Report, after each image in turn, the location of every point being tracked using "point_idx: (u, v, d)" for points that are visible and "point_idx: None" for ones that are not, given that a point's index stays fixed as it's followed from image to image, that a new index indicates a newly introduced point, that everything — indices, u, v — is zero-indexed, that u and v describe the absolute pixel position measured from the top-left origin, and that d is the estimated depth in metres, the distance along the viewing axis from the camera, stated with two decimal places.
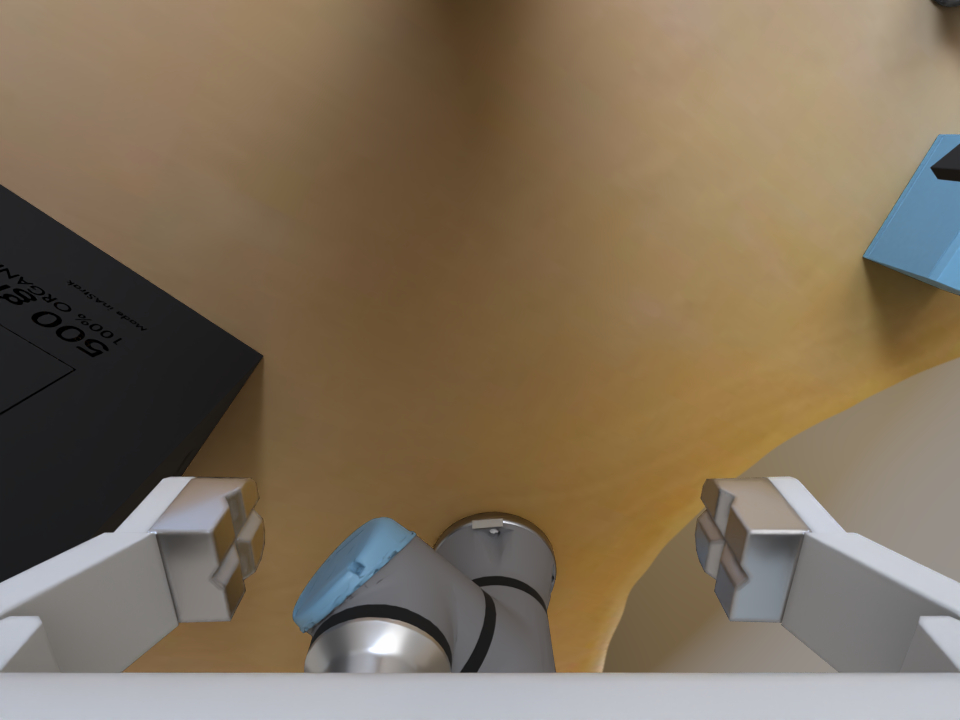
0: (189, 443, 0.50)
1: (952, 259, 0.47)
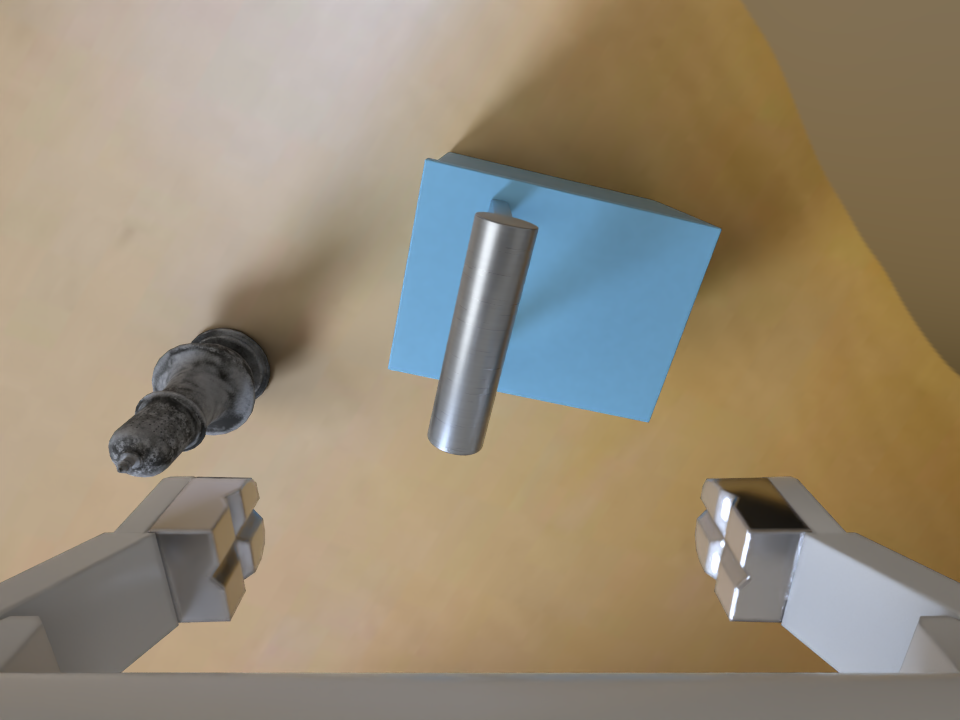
0: None
1: (609, 412, 0.27)
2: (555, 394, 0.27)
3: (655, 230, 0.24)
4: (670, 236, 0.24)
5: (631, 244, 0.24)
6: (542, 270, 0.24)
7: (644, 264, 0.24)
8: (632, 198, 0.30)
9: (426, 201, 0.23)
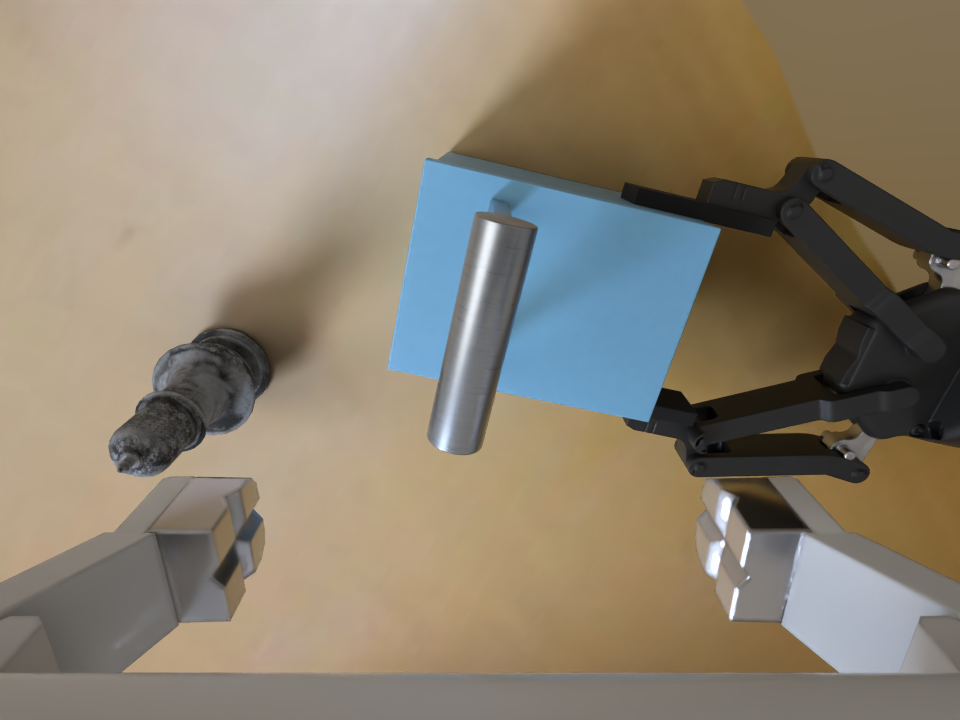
0: None
1: (609, 412, 0.27)
2: (555, 393, 0.27)
3: (655, 230, 0.24)
4: (670, 236, 0.24)
5: (631, 244, 0.24)
6: (542, 270, 0.24)
7: (644, 264, 0.24)
8: None
9: (426, 201, 0.23)
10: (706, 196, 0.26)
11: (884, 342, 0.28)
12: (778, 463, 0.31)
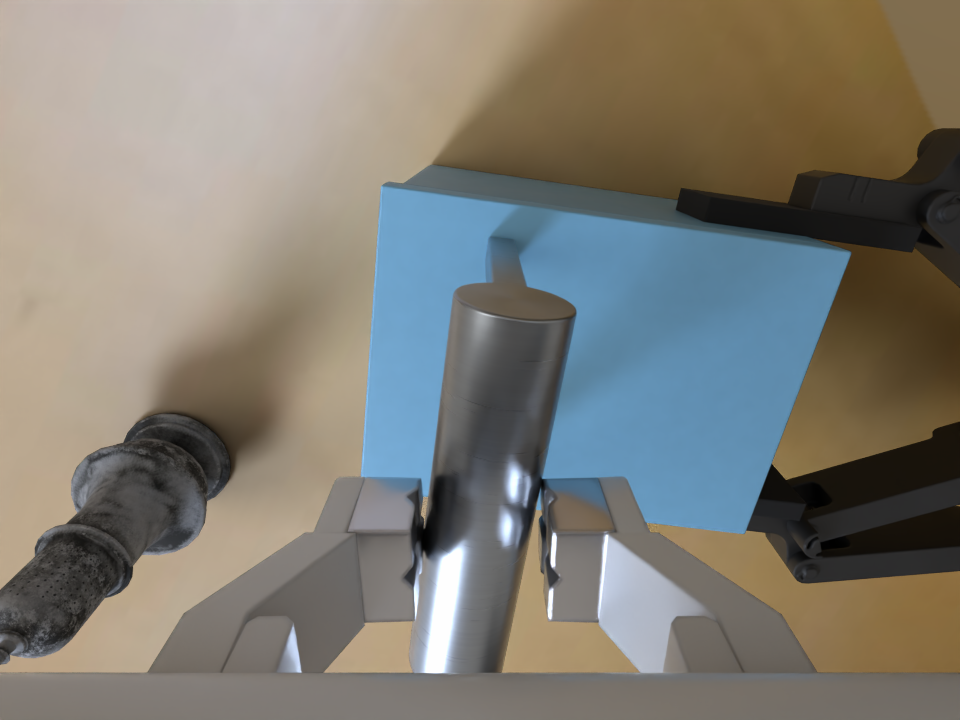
0: None
1: (687, 524, 0.18)
2: None
3: (747, 263, 0.15)
4: (770, 269, 0.15)
5: (710, 286, 0.16)
6: (575, 335, 0.16)
7: (731, 315, 0.16)
8: None
9: (390, 249, 0.15)
10: (808, 199, 0.18)
11: None
12: (921, 558, 0.22)
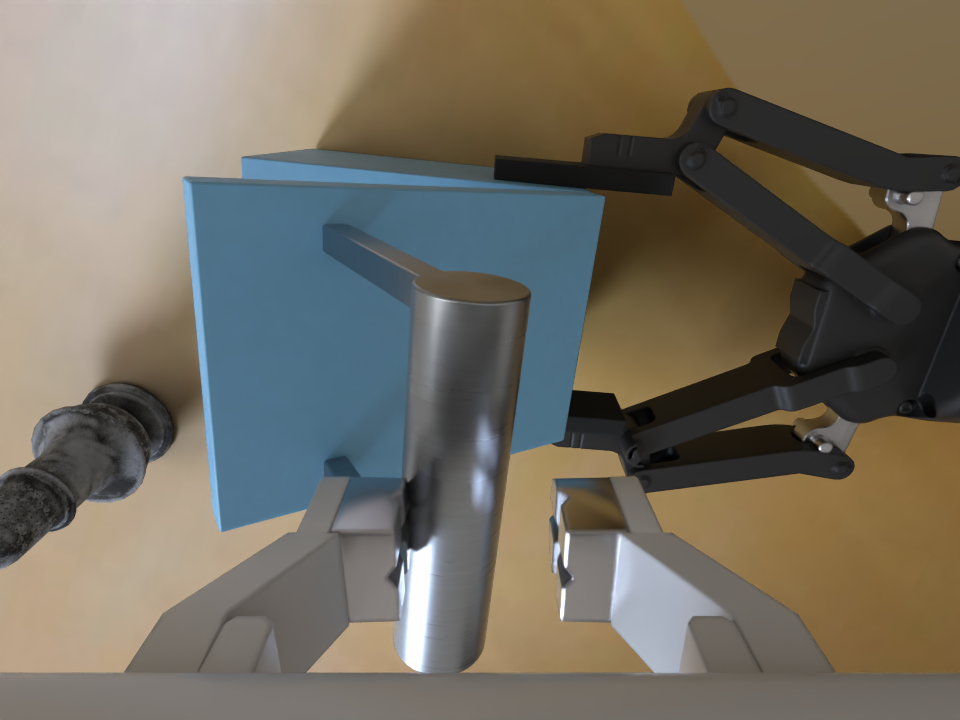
0: None
1: (524, 448, 0.21)
2: None
3: (541, 216, 0.18)
4: (556, 219, 0.18)
5: (517, 241, 0.18)
6: None
7: (535, 263, 0.18)
8: None
9: (212, 255, 0.13)
10: (586, 156, 0.21)
11: (842, 306, 0.23)
12: (738, 466, 0.25)
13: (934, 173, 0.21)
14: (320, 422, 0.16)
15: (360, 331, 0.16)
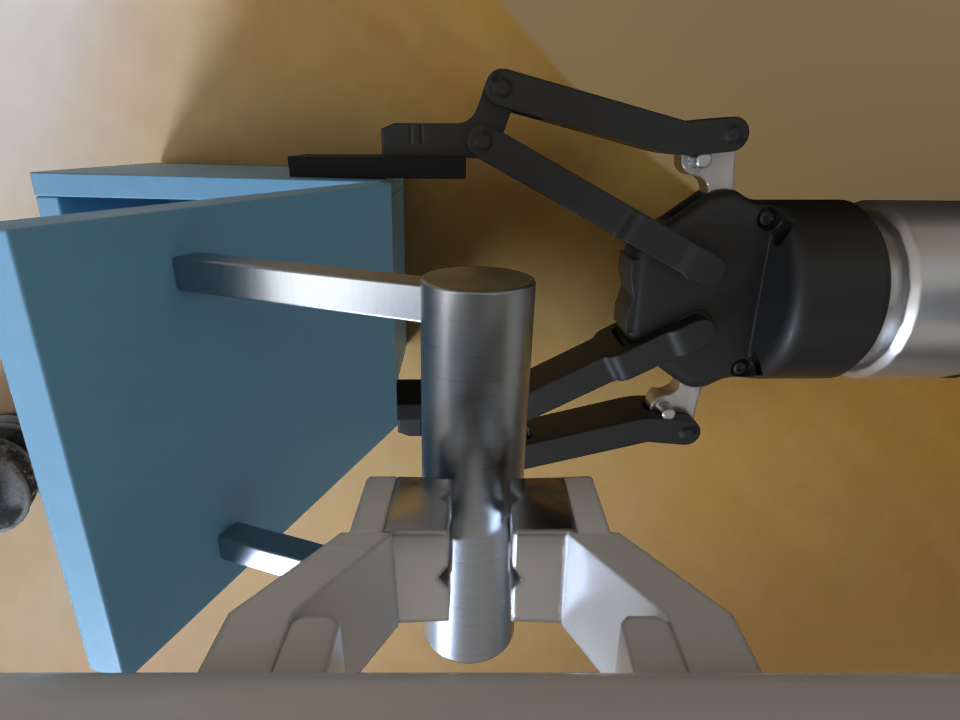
0: None
1: (373, 445, 0.21)
2: (331, 474, 0.19)
3: (351, 211, 0.18)
4: (363, 212, 0.18)
5: (339, 240, 0.17)
6: (273, 332, 0.15)
7: (354, 258, 0.18)
8: None
9: (54, 324, 0.10)
10: (383, 147, 0.22)
11: (656, 273, 0.23)
12: (586, 440, 0.26)
13: (716, 135, 0.21)
14: (207, 494, 0.13)
15: (228, 374, 0.14)
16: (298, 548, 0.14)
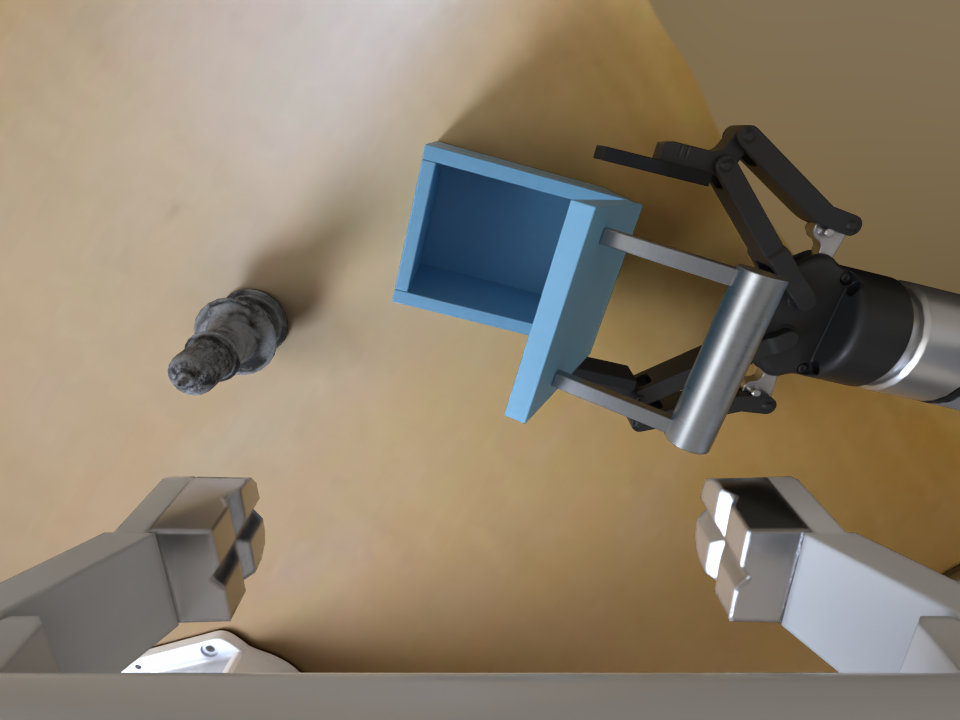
0: None
1: (583, 360, 0.34)
2: (573, 367, 0.31)
3: (631, 218, 0.30)
4: (632, 219, 0.31)
5: (624, 232, 0.30)
6: (598, 275, 0.27)
7: None
8: (579, 182, 0.38)
9: (584, 248, 0.22)
10: (658, 154, 0.34)
11: None
12: None
13: (843, 221, 0.34)
14: (562, 348, 0.26)
15: (587, 290, 0.26)
16: (599, 387, 0.26)
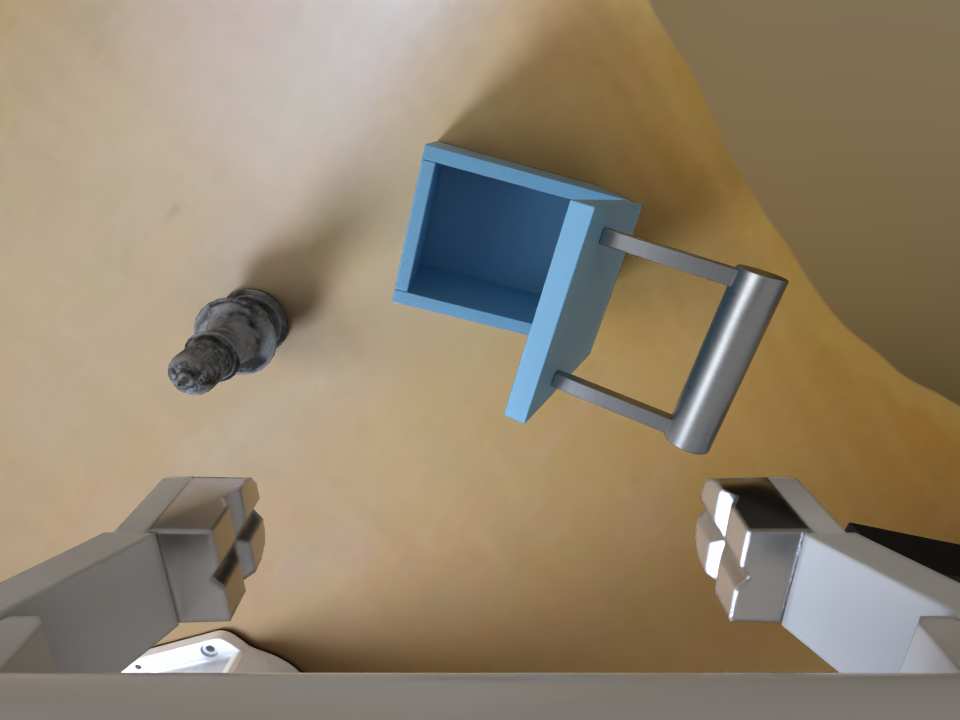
0: None
1: (583, 360, 0.34)
2: (573, 367, 0.31)
3: (631, 217, 0.30)
4: (632, 219, 0.31)
5: (624, 233, 0.30)
6: (598, 275, 0.27)
7: None
8: (579, 182, 0.38)
9: (584, 248, 0.22)
10: None
11: None
12: None
13: None
14: (562, 348, 0.26)
15: (586, 290, 0.26)
16: (599, 387, 0.26)
